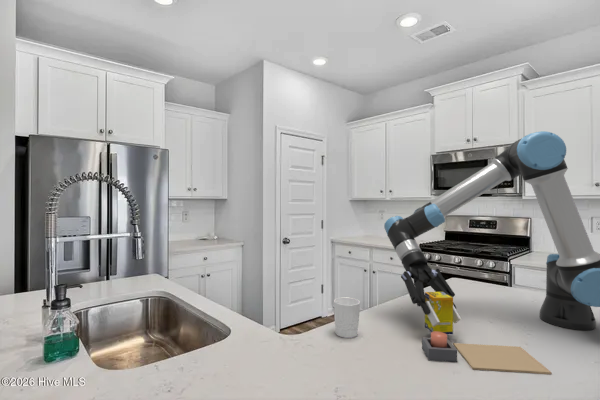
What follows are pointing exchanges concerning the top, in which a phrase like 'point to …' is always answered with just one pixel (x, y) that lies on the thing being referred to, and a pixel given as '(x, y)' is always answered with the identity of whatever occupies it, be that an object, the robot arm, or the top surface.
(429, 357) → the button housing
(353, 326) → the white cup
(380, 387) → the top surface
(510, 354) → the thin tan board
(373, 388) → the top surface
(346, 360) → the top surface
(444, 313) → the supplement box
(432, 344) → the button
